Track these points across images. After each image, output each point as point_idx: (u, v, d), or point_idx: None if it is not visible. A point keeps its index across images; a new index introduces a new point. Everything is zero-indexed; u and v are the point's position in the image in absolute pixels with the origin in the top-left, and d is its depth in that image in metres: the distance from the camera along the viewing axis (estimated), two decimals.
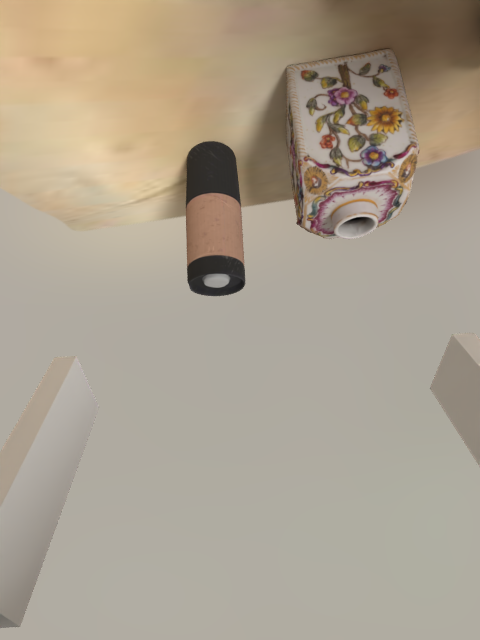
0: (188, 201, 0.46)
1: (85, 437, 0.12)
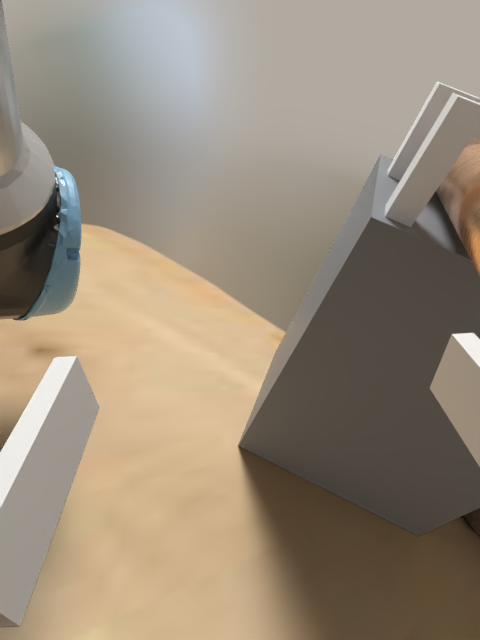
0: None
1: (85, 437, 0.12)
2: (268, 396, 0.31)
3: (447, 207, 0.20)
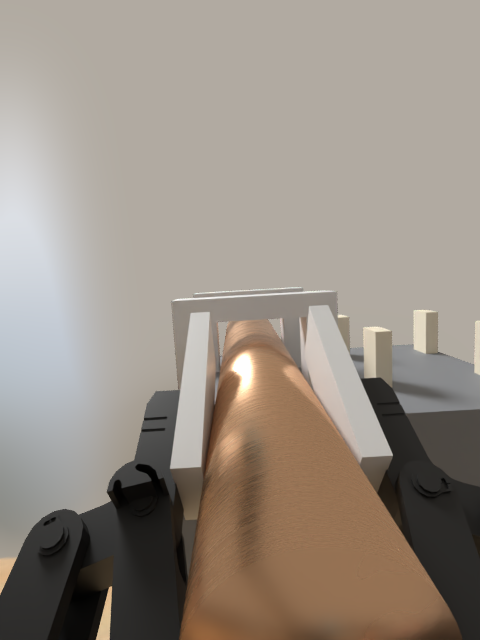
0: None
1: (214, 383, 0.14)
2: None
3: None
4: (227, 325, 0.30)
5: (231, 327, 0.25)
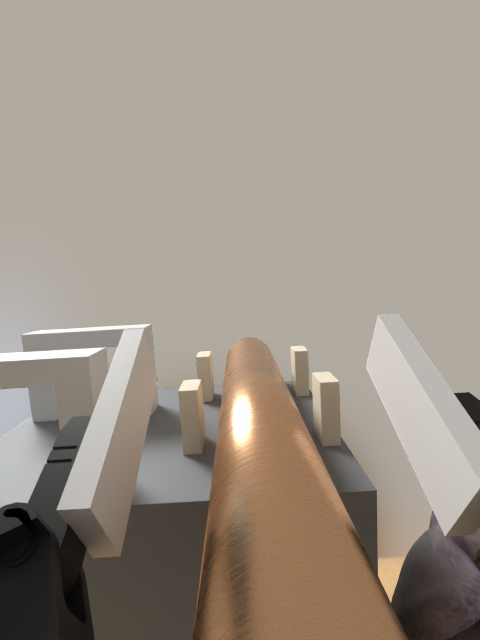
0: None
1: (150, 403, 0.13)
2: None
3: None
4: None
5: (230, 360, 0.25)
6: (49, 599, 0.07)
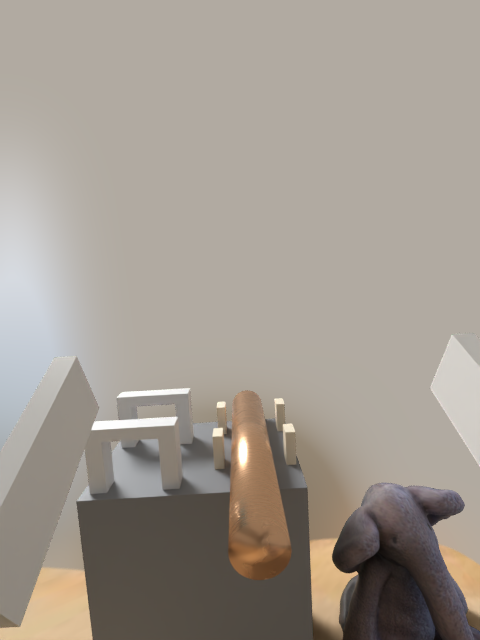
0: None
1: (85, 437, 0.12)
2: None
3: None
4: None
5: (234, 412, 0.42)
6: None
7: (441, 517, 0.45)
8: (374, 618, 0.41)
